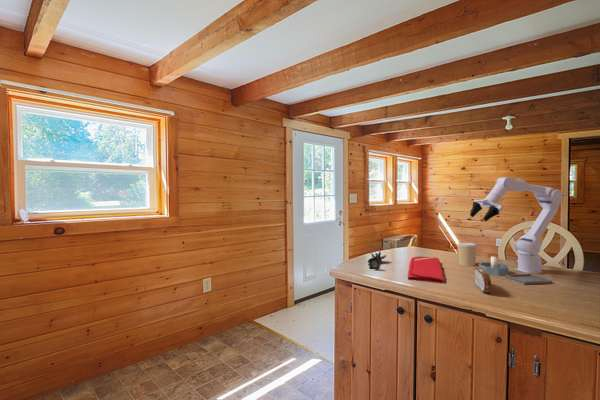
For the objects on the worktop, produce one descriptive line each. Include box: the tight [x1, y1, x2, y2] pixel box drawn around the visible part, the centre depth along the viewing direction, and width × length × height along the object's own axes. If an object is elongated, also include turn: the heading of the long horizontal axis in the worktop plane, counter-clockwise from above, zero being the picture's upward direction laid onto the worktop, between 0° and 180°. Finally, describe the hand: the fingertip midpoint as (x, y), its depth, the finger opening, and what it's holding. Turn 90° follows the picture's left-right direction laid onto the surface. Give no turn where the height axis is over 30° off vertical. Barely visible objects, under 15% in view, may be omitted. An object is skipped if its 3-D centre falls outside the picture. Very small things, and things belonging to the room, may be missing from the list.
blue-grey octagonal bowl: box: [478, 261, 510, 277], centre depth 152 cm, size 12×12×4 cm
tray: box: [504, 273, 553, 286], centre depth 139 cm, size 13×11×2 cm
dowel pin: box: [490, 256, 498, 268], centre depth 152 cm, size 2×2×8 cm
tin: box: [474, 267, 493, 294], centre depth 128 cm, size 15×3×8 cm, turn 164°
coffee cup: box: [457, 242, 478, 267], centre depth 167 cm, size 9×9×12 cm
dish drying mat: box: [407, 256, 445, 284], centre depth 158 cm, size 16×41×4 cm, turn 158°
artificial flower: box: [367, 249, 387, 271], centre depth 169 cm, size 9×22×10 cm, turn 151°
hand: (477, 218), depth 151 cm, fingers open, 7 cm apart
